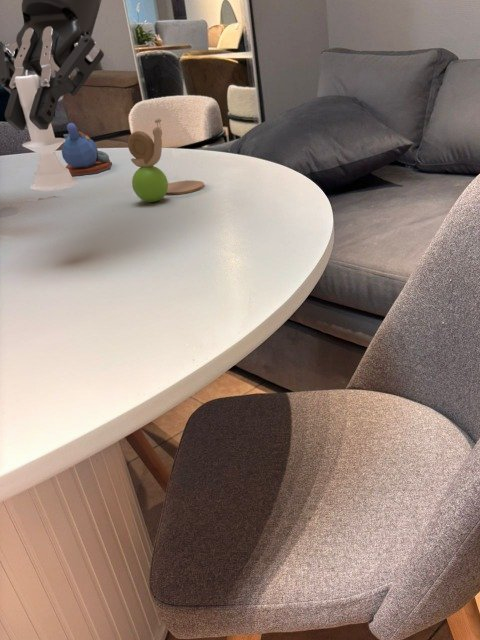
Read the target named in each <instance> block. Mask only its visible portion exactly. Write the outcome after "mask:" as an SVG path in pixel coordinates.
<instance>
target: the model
mask: <svg viewBox="0 0 480 640" xmlns="http://www.w3.org/2000/svg"><path fill="white" fill-rule="evenodd" d="M66 130H67V132H68V133H65V134H63V139H65V142H64V143H63V144H62V147H61V156H62V159H63V161H64V162H65V163H66V166H64V167H65V168H67V169H68V170H69V172H70V174H71V176H72V177H80V176H89V175H96V174H100V173H102V172H103V173H104V172H106V171H108V170H110V169H111V168H112V165H113V162H112V161H111V160H110V156H109V154H108V153H107V152H105V151H103V150H102V151H101V150H98V146H97V145H96V143H95V141H94V140H93V139H92V138H90V136H89V135H88V134H86V133H84V132H82V131H78V127H77V125H76V124H75V123H73V122H70V123H68V124H67V125H66Z"/></svg>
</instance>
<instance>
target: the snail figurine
mask: <svg viewBox="0 0 480 640" xmlns="http://www.w3.org/2000/svg"><path fill="white" fill-rule="evenodd" d="M161 122H162V120H161V118H156V119H155V120H154V123H155V124H156V127H154V128H153V129H152V135H153V139H152V136H150V135H149V134H147V133H146V132H144V131H141V130H137V131H134V132H132V133H131V134H130V135H129V136H128V139H127V147H128V150H129V152H130V154H131V156H132V157H134V158H132V157H131V158H130V161H131V162H132V164H133V165H134V166H136V167H138V169H137V170H135V172H134V174H133V175H132V179H131V186H132V189H133V191H134V193H135V195H136V196H137V197H138V198H139V199H140V200H142V201H144V202H146V203H155V202H158V201H160V200H162V199H163V198H164V197H165V196H166V195H165V194H166V192H167V189H168V183H169V181H168V177H167V176H166V174H165V173H164V171H163V170H162V169H161V168H159V167H157V166H155V165H156V164H158V163H159V162H160V160H161V157H162V151H163V141H162V140H163V139H162V136H163V130H162V129H161V127H160V126H159V125H161Z"/></svg>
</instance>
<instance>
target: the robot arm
mask: <svg viewBox="0 0 480 640" xmlns="http://www.w3.org/2000/svg"><path fill="white" fill-rule="evenodd" d="M102 2H103V1H102V0H22V1H21V12H22V17H23V26H21V29H20V30H19V32H18V33H17V34H16V38H15V41H14V42H12V43H10V44H7V45H5V44H4V43H3V42H2V41H0V85H1V86H2V88H4V89H5V90H6V92H8V93H9V97H8V100H7V104H6V108H5V111H4V119H5V121H6V123H8V125H10V126H11V128H13V129H14V130H16V131H24V130H25V129H26V127H27V123H26V119H25V116H24V112H23V108H22V106H21V104H20V99H19V94H18V90H17V87H16V83H15V77H17V76H26V70H28V72H27V75H28V76H29V75H37V76H39V79H40V85H41V86H42V88H38V90H37V93H36V94H35V97H34V101H33V104H32V107H31V111H30V114H29V119H30V121H31V122H32V123H33V124H34V125H35V126H36V127H37V128H39V129H40V130H47V129H48V127H49V124H50V123H51V124H52V122H53V120H54V115H55V112H56V110H57V106H58V102H60V101H62V100H63V99H64V96H65V95H67V94H68V95H69V96H71V97H73V96H76V95H77V94H78V93H79V91H80V90H81V88H82V87H83V86H84V84H85V83H86V82H87V80H88V79H89V78H90V76H91V75H92V74H93V72H94V70H95V69H96V68H97V67H98V66H99V64H100V62H101V61H102V60H103V58H104V56H105V53H104V51H103V50H102V48H101V47H100V46H99V45H98V42H96V40H94V39H93V37H92V36H93V32H94V29H95V26H96V21H97V18H98V14H99V11H100V7H101V4H102ZM74 70H75V71H76V74H75V75H74V76H73V78H72V79H71V74H72V73H73V72H74Z"/></svg>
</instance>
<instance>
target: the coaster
mask: <svg viewBox="0 0 480 640" xmlns="http://www.w3.org/2000/svg"><path fill="white" fill-rule="evenodd" d="M204 188H205V182H203V181H201V180H179V181H173V182H168V189H167V192H166V194H165V196H175V195H176V196H177V195H178V196H179V195H185V194H190V193H194V192H197V191H200V190H202V189H204Z"/></svg>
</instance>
